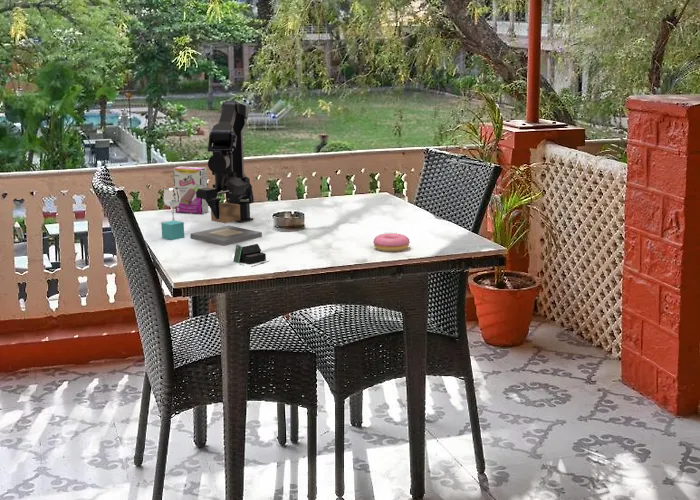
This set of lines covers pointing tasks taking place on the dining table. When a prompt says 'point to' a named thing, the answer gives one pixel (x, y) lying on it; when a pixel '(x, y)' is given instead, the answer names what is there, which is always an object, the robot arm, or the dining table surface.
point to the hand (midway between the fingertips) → (225, 217)
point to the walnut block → (227, 213)
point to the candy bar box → (190, 189)
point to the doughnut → (391, 242)
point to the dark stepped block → (249, 254)
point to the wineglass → (172, 198)
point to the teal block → (172, 230)
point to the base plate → (226, 235)
